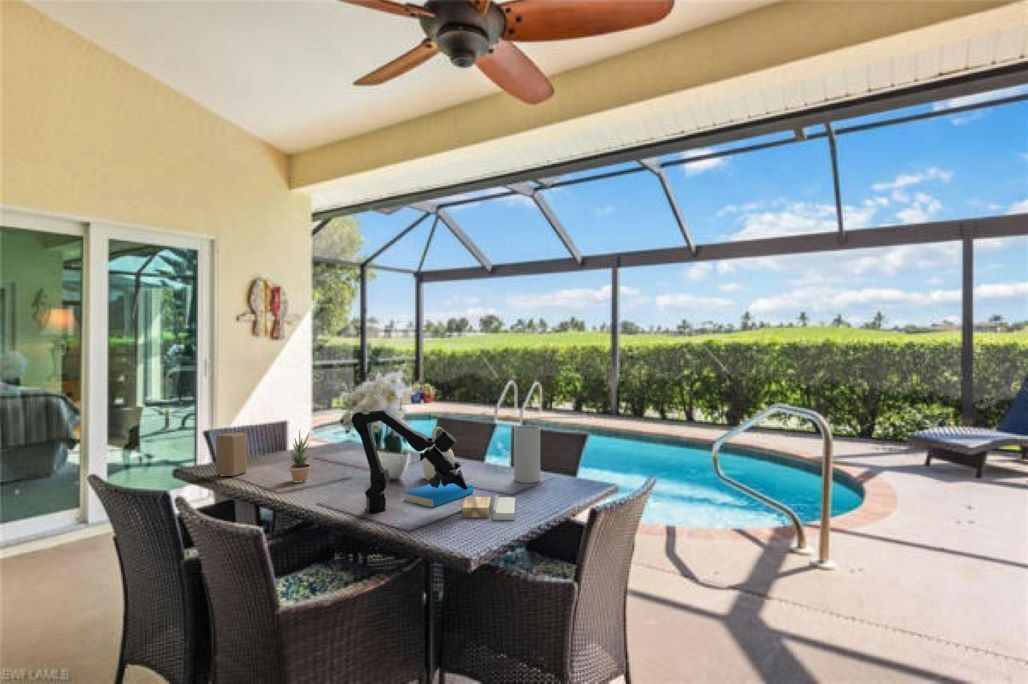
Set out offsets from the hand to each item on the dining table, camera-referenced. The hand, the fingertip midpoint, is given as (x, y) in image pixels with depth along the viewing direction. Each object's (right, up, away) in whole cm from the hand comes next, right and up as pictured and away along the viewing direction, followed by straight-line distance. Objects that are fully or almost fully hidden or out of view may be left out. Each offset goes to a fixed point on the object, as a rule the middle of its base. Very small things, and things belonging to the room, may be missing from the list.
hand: (466, 489), depth 214 cm
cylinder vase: (+25, -9, +47) cm, 54 cm away
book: (-13, -9, +20) cm, 25 cm away
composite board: (+15, -9, 0) cm, 17 cm away
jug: (-18, -9, +49) cm, 53 cm away
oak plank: (-1, -7, 0) cm, 7 cm away
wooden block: (-121, -8, +56) cm, 133 cm away
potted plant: (-82, -8, +45) cm, 94 cm away
